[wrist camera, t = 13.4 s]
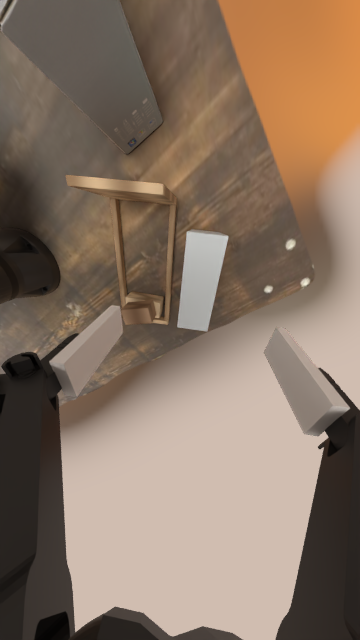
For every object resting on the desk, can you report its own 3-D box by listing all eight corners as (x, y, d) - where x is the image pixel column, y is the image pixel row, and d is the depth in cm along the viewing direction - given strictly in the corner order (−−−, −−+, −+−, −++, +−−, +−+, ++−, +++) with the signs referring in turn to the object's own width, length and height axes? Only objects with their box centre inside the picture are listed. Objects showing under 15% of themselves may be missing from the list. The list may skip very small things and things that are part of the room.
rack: (125, 314, 43) (100, 342, 33) (112, 192, 30) (65, 174, 19) (169, 320, 42) (158, 351, 32) (177, 198, 29) (163, 184, 19)
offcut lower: (132, 305, 42) (126, 312, 38) (132, 290, 39) (125, 297, 36) (162, 310, 41) (159, 318, 38) (163, 296, 39) (160, 303, 36)
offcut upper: (132, 315, 38) (125, 324, 35) (128, 302, 37) (120, 310, 33) (156, 314, 37) (151, 323, 34) (153, 300, 36) (147, 308, 32)
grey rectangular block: (184, 297, 38) (177, 327, 27) (192, 229, 31) (187, 231, 19) (205, 299, 38) (207, 331, 26) (219, 232, 30) (228, 236, 19)
